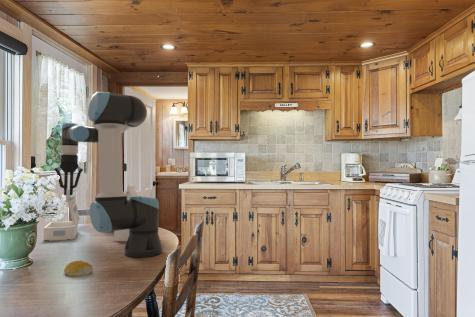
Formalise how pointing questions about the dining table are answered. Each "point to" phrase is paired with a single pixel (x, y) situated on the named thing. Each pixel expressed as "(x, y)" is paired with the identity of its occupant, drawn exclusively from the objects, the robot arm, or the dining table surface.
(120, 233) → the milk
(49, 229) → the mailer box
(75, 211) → the lid
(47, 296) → the dining table surface
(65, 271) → the bread roll
